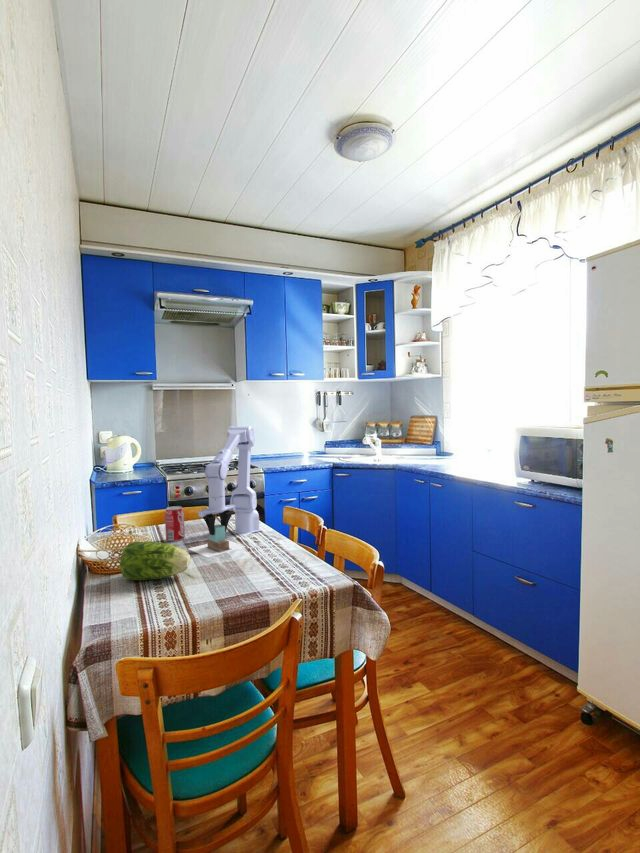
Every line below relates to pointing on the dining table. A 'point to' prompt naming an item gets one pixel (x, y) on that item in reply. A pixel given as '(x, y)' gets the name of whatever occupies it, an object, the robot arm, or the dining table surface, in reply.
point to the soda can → (174, 524)
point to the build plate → (210, 552)
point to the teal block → (218, 533)
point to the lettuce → (152, 560)
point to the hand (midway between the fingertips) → (217, 533)
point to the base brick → (218, 545)
